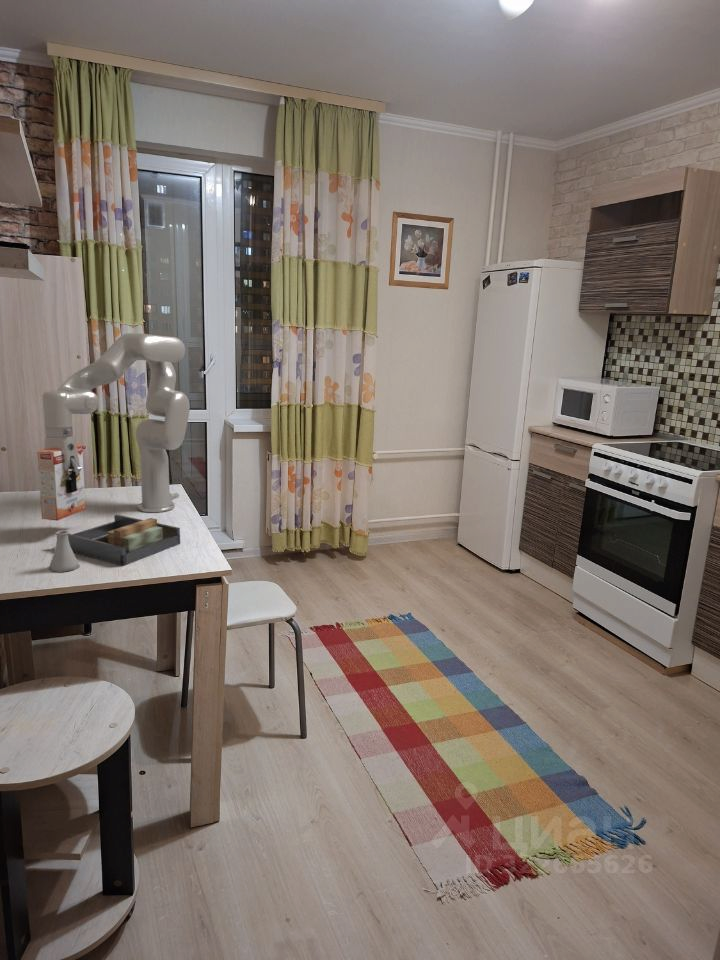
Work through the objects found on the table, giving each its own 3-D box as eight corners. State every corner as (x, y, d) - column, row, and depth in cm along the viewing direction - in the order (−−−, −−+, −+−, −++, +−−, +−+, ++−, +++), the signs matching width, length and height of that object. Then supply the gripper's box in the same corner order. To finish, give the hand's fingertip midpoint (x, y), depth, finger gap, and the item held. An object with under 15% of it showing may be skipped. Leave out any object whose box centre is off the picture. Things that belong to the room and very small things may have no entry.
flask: (60, 574, 169) (58, 538, 167) (43, 568, 173) (40, 532, 171) (85, 566, 175) (82, 531, 173) (68, 561, 179) (65, 526, 177)
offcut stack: (145, 542, 197) (144, 516, 195) (164, 546, 193) (163, 520, 192) (108, 555, 185) (107, 528, 183) (128, 560, 181) (126, 532, 180)
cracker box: (59, 521, 193) (53, 452, 189) (40, 519, 195) (35, 450, 190) (87, 509, 207) (83, 444, 202) (70, 507, 208) (65, 443, 203)
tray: (117, 529, 207) (116, 514, 206) (180, 543, 196) (179, 527, 195) (57, 548, 188) (56, 532, 187) (123, 565, 177) (122, 548, 176)
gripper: (89, 433, 194) (93, 491, 198) (50, 428, 202) (54, 484, 206) (68, 437, 188) (72, 496, 192) (28, 431, 196) (33, 488, 200)
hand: (63, 489), depth 199 cm, fingers closed on cracker box, 7 cm apart
